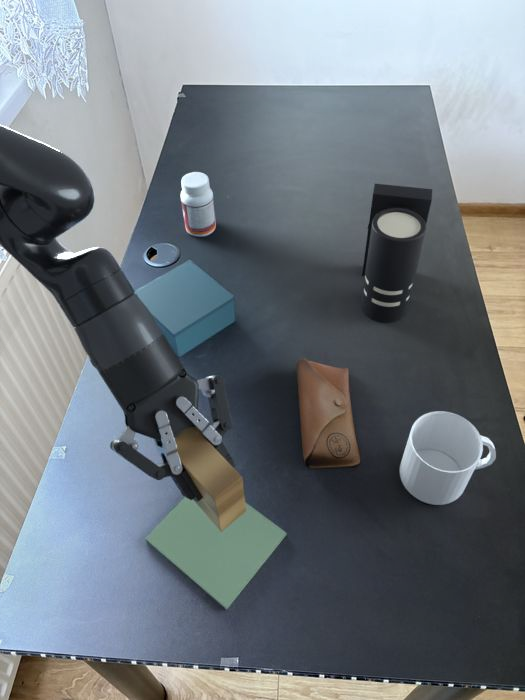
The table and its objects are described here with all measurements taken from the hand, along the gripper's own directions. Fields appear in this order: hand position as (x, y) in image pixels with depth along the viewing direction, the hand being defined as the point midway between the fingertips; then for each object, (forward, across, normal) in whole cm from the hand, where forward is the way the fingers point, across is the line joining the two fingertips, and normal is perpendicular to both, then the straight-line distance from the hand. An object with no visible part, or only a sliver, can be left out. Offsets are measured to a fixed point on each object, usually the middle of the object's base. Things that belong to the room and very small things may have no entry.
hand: (213, 485), depth 64 cm
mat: (+11, 0, +14) cm, 18 cm away
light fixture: (+1, +50, +25) cm, 56 cm away
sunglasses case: (+8, +24, +17) cm, 31 cm away
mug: (+21, +29, +4) cm, 36 cm away
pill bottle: (-26, +37, +51) cm, 68 cm away
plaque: (+1, 0, +4) cm, 4 cm away
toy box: (-13, +20, +38) cm, 45 cm away
